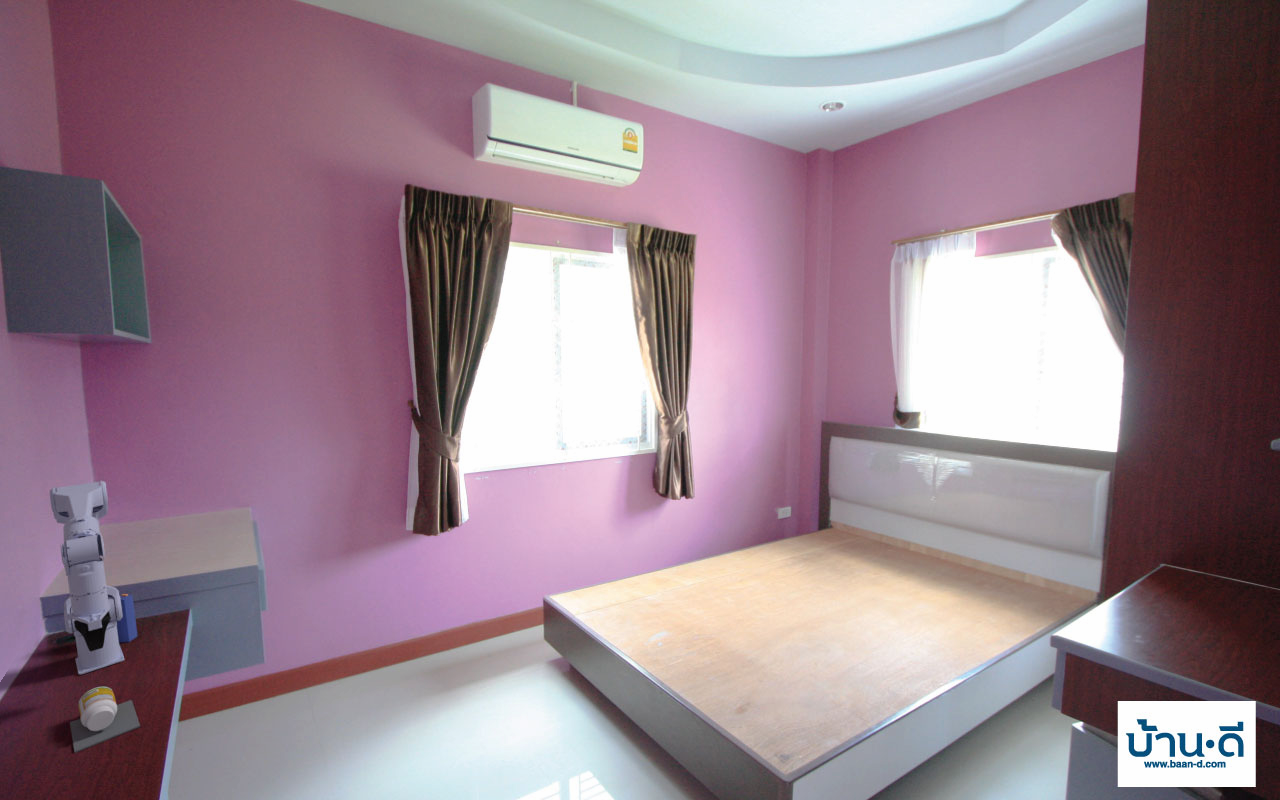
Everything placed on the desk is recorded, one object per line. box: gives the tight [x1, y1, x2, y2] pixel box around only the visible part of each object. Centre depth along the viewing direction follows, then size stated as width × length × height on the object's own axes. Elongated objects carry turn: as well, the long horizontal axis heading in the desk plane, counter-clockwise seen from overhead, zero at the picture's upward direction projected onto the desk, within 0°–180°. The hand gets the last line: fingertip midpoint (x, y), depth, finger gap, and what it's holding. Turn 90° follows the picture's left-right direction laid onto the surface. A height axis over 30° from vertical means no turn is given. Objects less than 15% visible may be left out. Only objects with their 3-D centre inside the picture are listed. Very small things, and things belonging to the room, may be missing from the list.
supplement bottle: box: [78, 686, 118, 731], centre depth 115 cm, size 5×5×10 cm
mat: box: [69, 699, 141, 754], centre depth 115 cm, size 12×10×1 cm
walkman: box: [116, 593, 138, 643], centre depth 145 cm, size 8×3×12 cm, turn 96°
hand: (96, 648), depth 124 cm, fingers closed
